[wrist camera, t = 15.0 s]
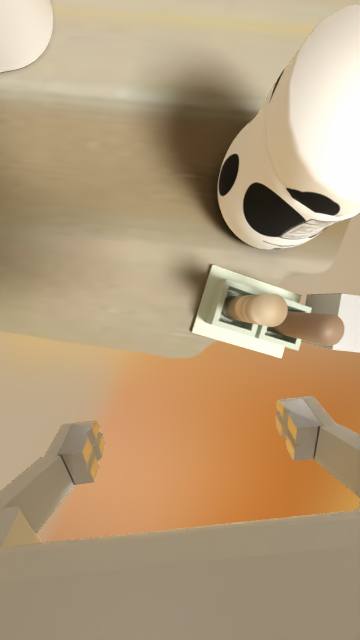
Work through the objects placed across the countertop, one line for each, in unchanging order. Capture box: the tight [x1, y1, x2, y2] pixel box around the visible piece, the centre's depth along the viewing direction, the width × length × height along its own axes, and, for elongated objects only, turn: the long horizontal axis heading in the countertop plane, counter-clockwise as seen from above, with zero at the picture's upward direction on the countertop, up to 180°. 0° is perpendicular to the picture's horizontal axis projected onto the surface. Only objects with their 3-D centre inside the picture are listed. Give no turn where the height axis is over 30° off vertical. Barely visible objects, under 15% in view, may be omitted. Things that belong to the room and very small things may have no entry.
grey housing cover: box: [301, 293, 360, 352], centre depth 37 cm, size 10×8×7 cm
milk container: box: [218, 5, 360, 250], centre depth 28 cm, size 17×17×18 cm
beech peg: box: [221, 294, 288, 327], centre depth 31 cm, size 4×4×12 cm
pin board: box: [191, 265, 344, 358], centre depth 32 cm, size 16×11×13 cm
